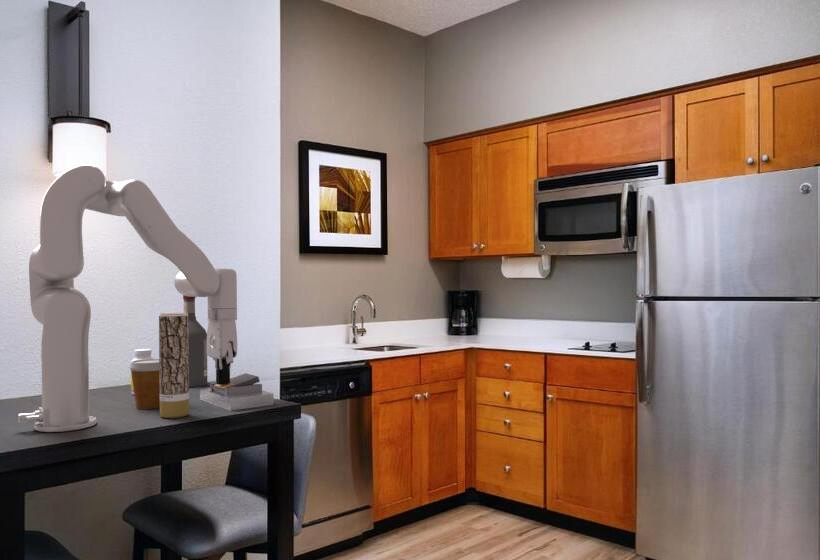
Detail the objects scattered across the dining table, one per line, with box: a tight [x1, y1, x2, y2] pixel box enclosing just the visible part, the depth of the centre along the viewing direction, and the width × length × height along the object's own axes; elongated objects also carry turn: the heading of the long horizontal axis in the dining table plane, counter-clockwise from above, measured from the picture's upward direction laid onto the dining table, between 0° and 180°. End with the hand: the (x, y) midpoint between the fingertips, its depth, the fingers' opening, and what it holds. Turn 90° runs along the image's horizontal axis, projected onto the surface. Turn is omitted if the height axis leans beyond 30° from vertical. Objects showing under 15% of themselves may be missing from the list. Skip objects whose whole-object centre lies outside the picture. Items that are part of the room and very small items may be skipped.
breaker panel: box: [199, 382, 274, 412], centre depth 180 cm, size 12×20×5 cm, turn 39°
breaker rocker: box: [212, 373, 260, 395], centre depth 180 cm, size 10×8×2 cm
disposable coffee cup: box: [129, 358, 160, 410], centre depth 174 cm, size 10×10×12 cm
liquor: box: [182, 295, 208, 389], centre depth 209 cm, size 9×9×30 cm
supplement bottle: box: [130, 348, 154, 396], centre depth 194 cm, size 7×7×13 cm
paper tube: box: [158, 312, 190, 419], centre depth 163 cm, size 7×7×25 cm
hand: (223, 383), depth 178 cm, fingers closed
